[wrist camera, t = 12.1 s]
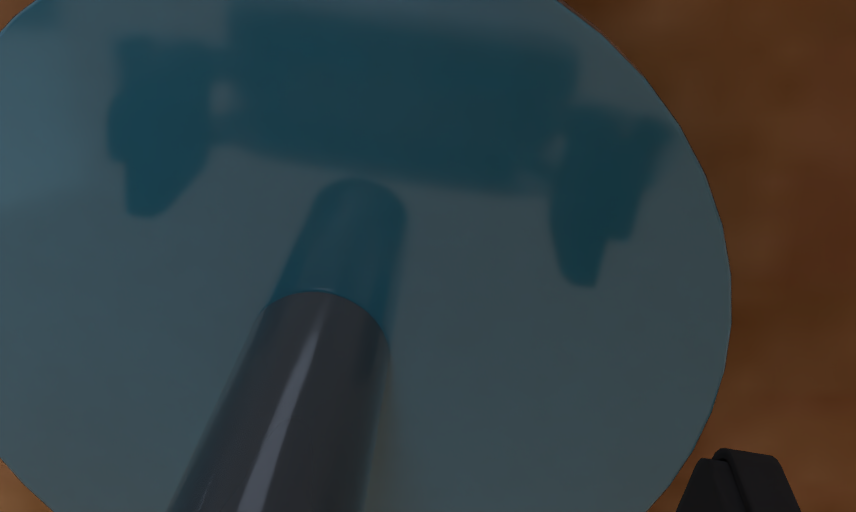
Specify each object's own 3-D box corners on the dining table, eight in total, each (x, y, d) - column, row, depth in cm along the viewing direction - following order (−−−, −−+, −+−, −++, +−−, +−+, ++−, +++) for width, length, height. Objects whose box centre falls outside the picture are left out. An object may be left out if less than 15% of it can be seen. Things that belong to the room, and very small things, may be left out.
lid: (-5, 527, 18) (-223, 836, 12) (-98, -164, 11) (-630, -170, 6) (604, 619, 18) (660, 962, 12) (837, -7, 12) (1155, 126, 6)
